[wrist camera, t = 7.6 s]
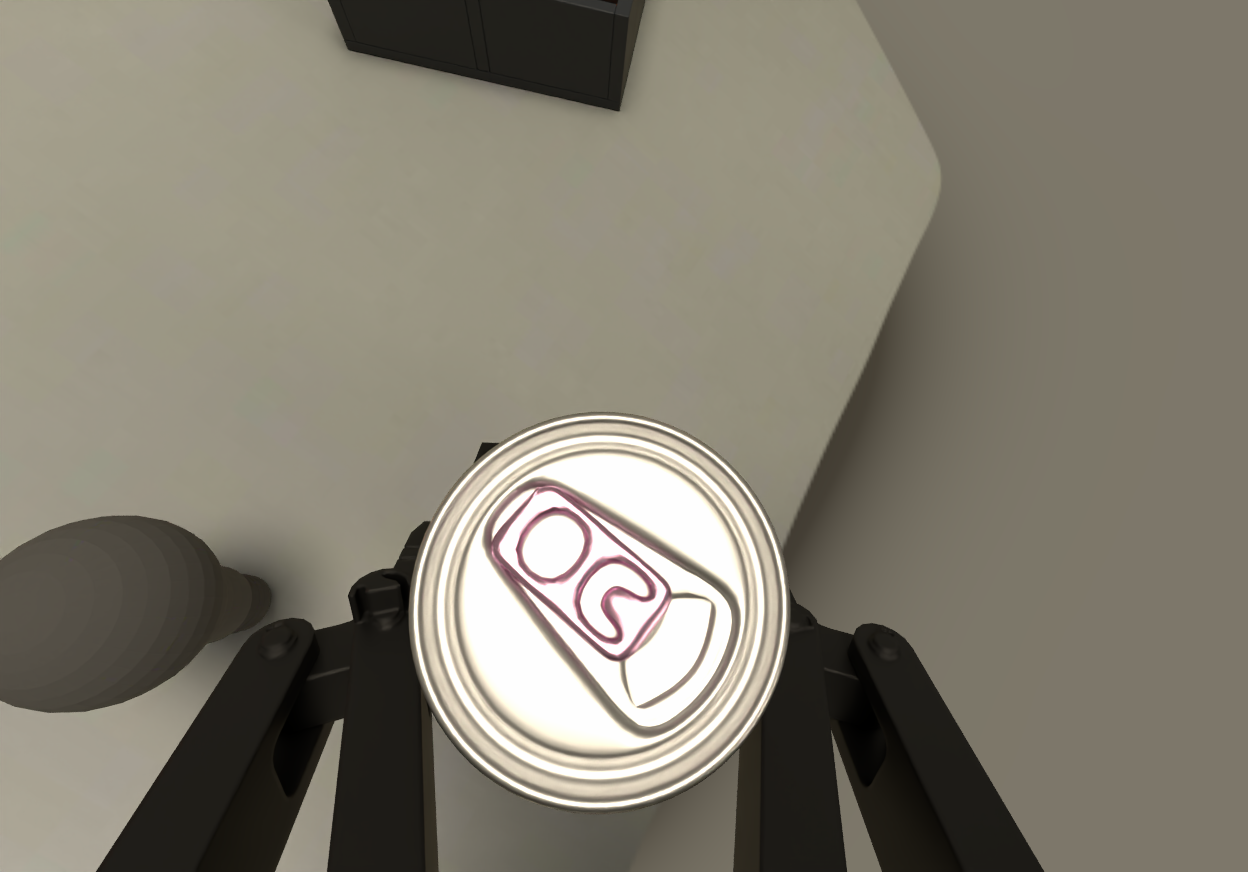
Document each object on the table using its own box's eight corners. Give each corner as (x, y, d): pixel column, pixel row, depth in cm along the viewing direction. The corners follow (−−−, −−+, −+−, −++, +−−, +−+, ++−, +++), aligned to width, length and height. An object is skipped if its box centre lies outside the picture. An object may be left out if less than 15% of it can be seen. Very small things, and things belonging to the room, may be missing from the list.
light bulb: (260, 513, 23) (44, 460, 14) (347, 591, 23) (185, 593, 13) (153, 613, 22) (-174, 632, 12) (243, 700, 21) (-26, 792, 12)
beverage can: (579, 492, 23) (585, 330, 9) (682, 580, 22) (878, 564, 8) (485, 599, 21) (296, 621, 7) (593, 698, 20) (634, 951, 6)
